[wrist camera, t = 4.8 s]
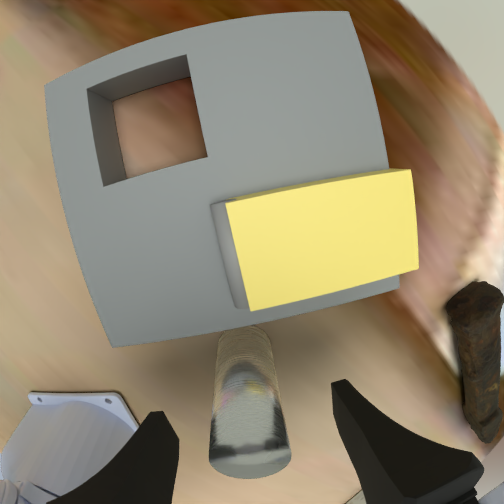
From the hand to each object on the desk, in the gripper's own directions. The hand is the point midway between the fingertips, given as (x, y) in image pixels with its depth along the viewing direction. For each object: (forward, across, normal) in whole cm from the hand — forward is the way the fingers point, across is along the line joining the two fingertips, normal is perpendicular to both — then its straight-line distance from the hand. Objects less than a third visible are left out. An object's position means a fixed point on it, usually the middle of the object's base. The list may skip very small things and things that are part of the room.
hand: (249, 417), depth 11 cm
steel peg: (+6, 0, 0) cm, 6 cm away
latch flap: (+3, -4, -7) cm, 8 cm away
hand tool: (+6, -18, +9) cm, 21 cm away
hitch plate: (+6, -1, -9) cm, 11 cm away
